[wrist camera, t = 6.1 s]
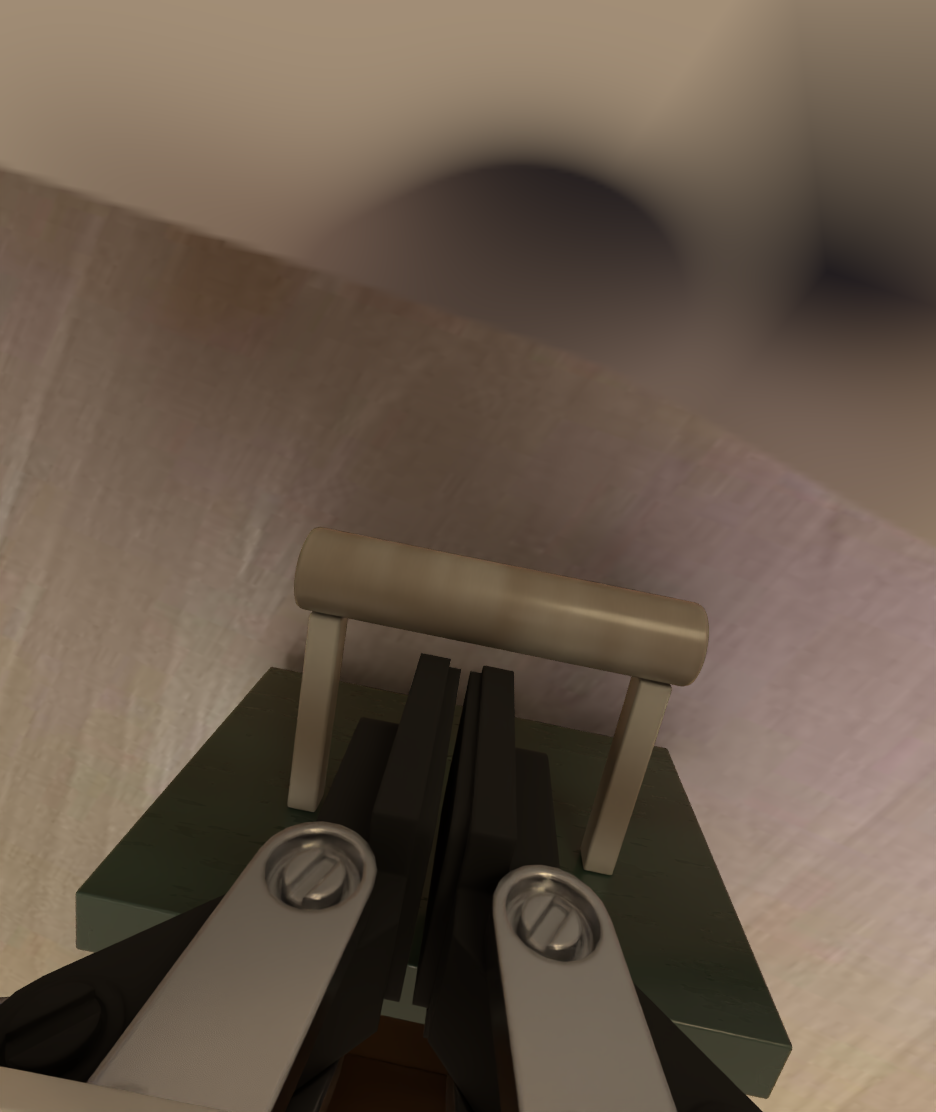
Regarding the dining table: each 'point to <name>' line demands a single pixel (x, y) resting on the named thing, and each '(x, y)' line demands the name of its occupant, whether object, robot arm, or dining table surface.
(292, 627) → the dining table surface
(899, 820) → the dining table surface
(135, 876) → the drawer
